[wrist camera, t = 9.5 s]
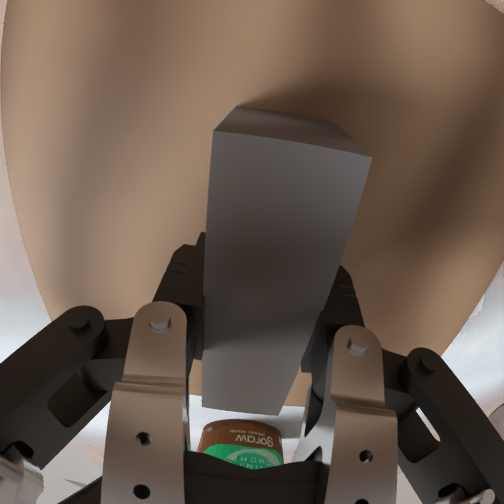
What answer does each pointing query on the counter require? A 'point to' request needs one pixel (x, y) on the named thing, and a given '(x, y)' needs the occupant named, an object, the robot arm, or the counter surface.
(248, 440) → the food container
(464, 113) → the cover board
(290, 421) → the counter surface
